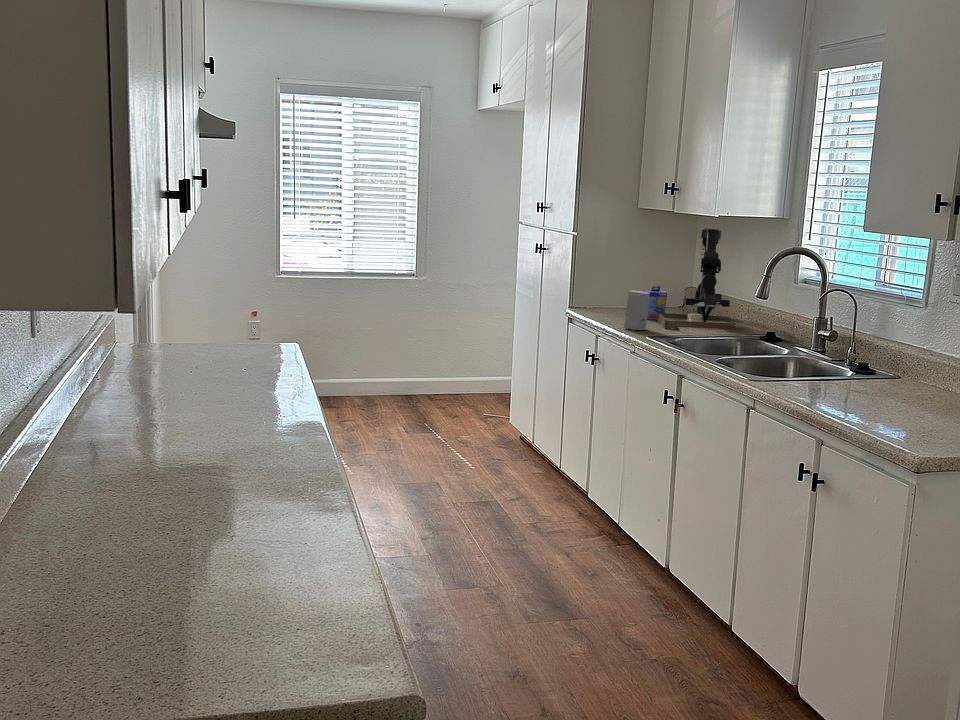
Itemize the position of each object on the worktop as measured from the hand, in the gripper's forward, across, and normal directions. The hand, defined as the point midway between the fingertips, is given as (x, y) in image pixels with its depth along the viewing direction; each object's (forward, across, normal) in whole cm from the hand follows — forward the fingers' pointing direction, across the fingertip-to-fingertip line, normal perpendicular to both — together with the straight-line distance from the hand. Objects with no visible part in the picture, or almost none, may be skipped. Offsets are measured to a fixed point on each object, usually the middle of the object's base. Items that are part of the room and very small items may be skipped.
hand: (704, 321), depth 397 cm
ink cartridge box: (+2, -19, +15) cm, 25 cm away
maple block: (+1, -4, 0) cm, 4 cm away
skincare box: (+2, -31, -13) cm, 34 cm away
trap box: (+2, -4, 0) cm, 4 cm away
